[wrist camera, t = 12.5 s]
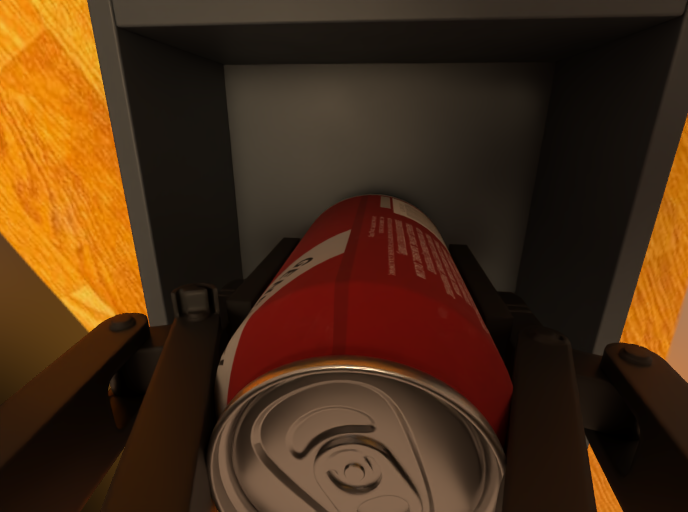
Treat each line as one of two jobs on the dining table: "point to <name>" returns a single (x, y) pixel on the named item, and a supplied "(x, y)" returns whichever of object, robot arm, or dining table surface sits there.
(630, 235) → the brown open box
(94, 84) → the dining table surface
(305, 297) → the soda can
